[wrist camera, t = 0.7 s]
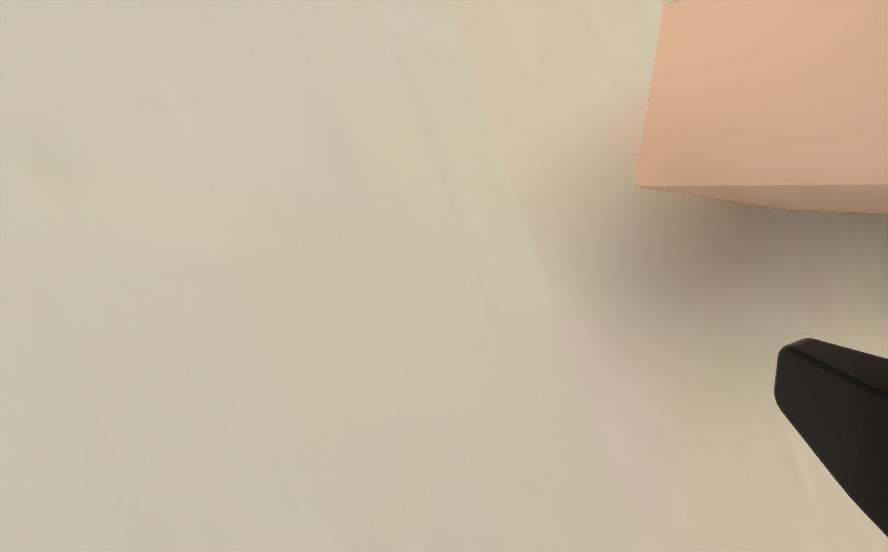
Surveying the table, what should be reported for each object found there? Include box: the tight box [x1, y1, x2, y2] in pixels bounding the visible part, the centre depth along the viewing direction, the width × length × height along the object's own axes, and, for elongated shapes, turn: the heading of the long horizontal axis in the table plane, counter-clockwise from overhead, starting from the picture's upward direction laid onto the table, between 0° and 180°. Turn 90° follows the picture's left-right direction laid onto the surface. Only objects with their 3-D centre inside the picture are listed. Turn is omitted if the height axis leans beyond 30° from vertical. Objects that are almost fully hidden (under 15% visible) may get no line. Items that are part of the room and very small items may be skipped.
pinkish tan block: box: [635, 0, 888, 214], centre depth 20 cm, size 6×6×10 cm
